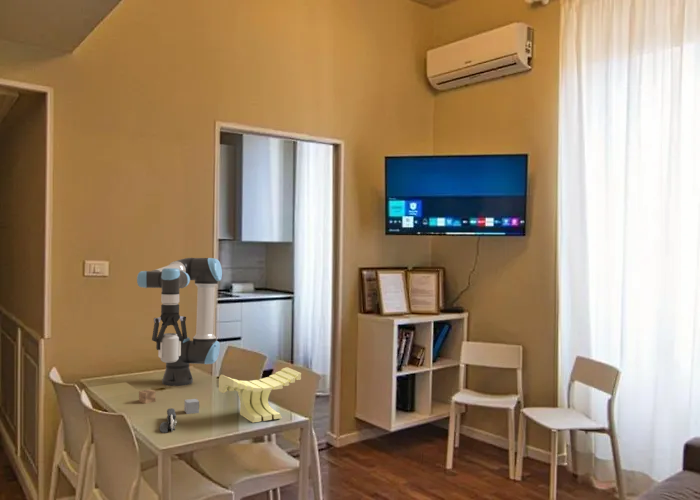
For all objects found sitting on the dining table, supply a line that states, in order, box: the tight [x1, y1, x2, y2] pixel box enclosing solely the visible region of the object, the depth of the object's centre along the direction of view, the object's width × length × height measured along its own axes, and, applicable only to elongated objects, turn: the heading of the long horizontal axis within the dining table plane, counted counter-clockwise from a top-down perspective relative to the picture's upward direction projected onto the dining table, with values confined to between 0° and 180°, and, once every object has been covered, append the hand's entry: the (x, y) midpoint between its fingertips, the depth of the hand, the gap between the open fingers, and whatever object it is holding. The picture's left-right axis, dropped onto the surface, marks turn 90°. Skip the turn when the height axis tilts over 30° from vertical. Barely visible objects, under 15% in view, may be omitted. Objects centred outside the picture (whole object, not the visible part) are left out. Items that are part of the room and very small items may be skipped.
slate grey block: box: [183, 398, 200, 415], centre depth 254 cm, size 5×5×5 cm
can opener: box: [159, 407, 178, 434], centre depth 235 cm, size 19×6×5 cm, turn 15°
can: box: [160, 332, 179, 364], centre depth 261 cm, size 8×8×12 cm
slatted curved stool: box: [218, 366, 302, 423], centre depth 251 cm, size 30×16×18 cm, turn 123°
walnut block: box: [138, 389, 157, 404], centre depth 268 cm, size 5×5×5 cm
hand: (169, 356), depth 261 cm, fingers closed on can, 7 cm apart
